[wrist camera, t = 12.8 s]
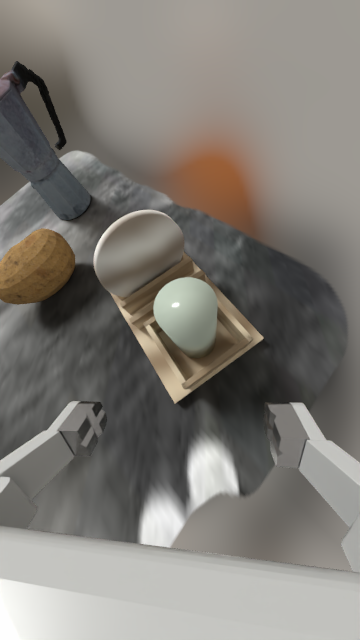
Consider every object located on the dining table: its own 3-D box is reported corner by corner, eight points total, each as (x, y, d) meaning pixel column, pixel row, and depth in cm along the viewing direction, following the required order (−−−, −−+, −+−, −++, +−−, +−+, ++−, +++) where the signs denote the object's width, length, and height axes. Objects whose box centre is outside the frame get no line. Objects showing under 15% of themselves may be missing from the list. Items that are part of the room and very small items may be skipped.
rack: (109, 288, 32) (44, 225, 19) (174, 244, 33) (151, 159, 20) (176, 402, 23) (137, 419, 11) (261, 340, 24) (311, 293, 12)
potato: (16, 298, 35) (-37, 273, 27) (69, 247, 37) (33, 212, 30) (42, 325, 31) (-11, 306, 24) (98, 268, 34) (66, 234, 26)
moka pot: (39, 218, 42) (-95, 87, 24) (88, 178, 45) (0, 31, 26) (60, 235, 39) (-78, 97, 20) (111, 191, 41) (29, 32, 23)
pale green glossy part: (170, 335, 25) (142, 300, 15) (200, 314, 26) (192, 266, 16) (192, 366, 23) (175, 349, 13) (223, 343, 24) (231, 309, 14)
